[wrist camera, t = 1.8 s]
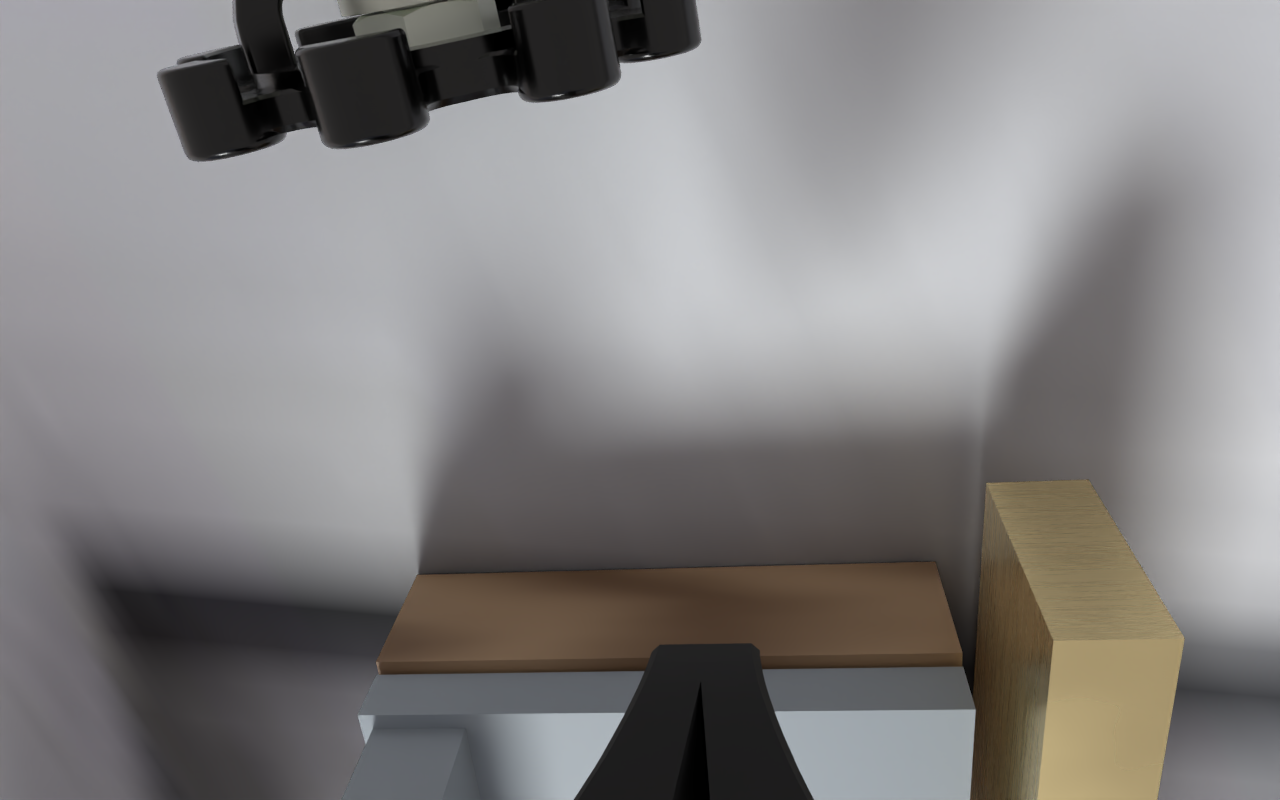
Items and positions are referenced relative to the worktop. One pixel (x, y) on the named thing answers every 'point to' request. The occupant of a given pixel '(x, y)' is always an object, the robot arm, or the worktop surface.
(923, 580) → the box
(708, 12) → the worktop surface
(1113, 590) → the bar
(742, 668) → the robot arm
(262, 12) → the valve
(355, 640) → the worktop surface
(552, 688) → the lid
